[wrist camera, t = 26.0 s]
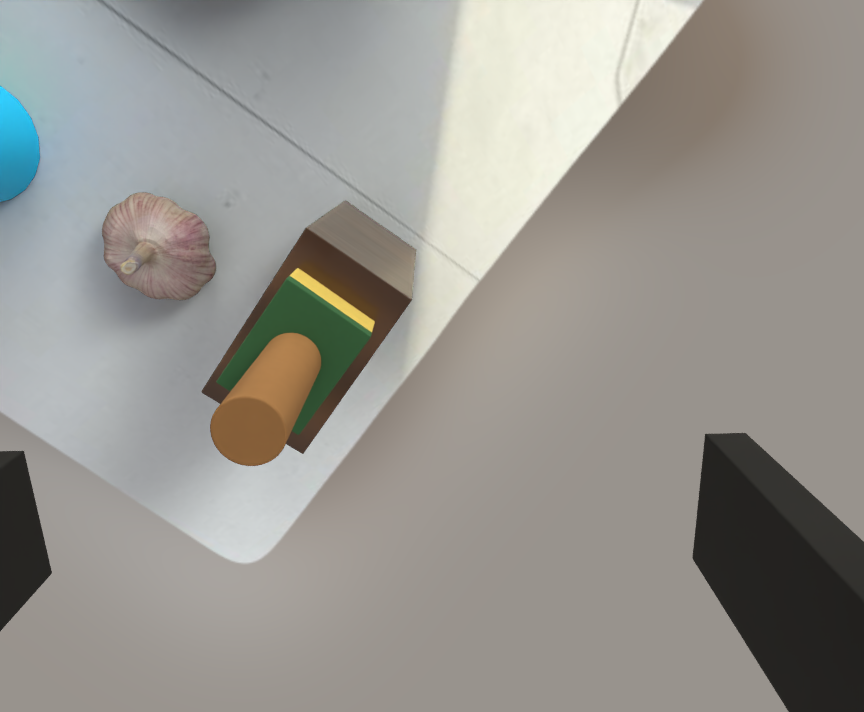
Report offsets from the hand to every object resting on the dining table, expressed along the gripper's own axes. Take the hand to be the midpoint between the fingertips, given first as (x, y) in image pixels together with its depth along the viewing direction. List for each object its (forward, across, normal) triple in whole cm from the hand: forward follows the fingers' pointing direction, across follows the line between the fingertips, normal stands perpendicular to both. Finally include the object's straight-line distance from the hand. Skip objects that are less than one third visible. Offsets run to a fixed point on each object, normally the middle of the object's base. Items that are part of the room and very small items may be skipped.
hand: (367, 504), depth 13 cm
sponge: (+20, -5, -2) cm, 21 cm away
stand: (+36, -5, -3) cm, 36 cm away
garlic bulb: (+36, -17, 0) cm, 40 cm away
